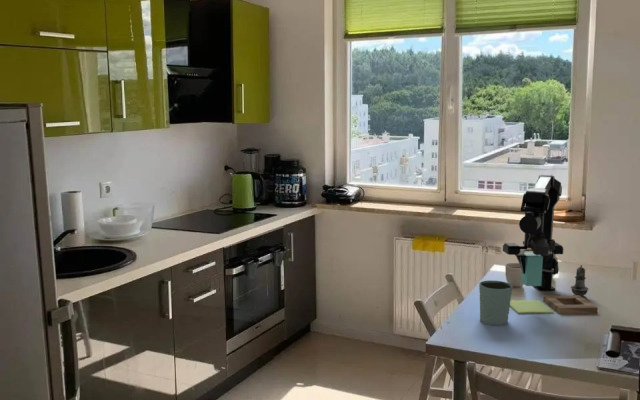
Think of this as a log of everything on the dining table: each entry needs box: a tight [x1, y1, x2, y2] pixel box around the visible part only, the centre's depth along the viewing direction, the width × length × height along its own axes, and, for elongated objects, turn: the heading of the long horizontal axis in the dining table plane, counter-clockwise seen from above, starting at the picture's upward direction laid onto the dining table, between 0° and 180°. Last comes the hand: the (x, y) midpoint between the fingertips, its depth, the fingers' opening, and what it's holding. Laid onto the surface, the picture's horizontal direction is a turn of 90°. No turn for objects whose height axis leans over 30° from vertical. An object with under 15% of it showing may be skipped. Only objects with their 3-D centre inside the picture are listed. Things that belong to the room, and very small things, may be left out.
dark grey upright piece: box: [570, 264, 589, 300], centre depth 225 cm, size 6×6×12 cm
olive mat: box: [510, 299, 555, 315], centre depth 215 cm, size 12×12×1 cm
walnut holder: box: [542, 294, 599, 315], centre depth 216 cm, size 13×13×2 cm
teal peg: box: [520, 252, 543, 287], centre depth 213 cm, size 5×5×10 cm
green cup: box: [478, 279, 513, 327], centre depth 201 cm, size 10×10×12 cm
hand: (531, 273), depth 213 cm, fingers closed on teal peg, 5 cm apart
